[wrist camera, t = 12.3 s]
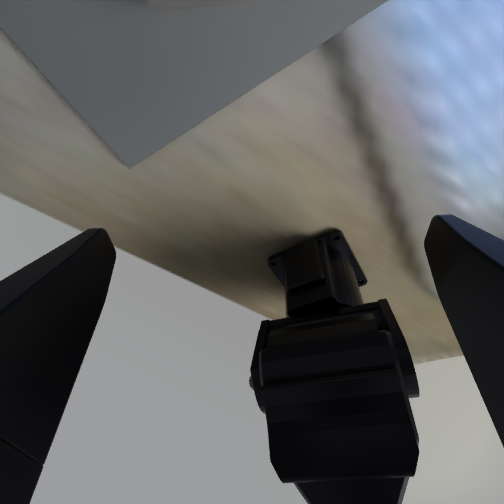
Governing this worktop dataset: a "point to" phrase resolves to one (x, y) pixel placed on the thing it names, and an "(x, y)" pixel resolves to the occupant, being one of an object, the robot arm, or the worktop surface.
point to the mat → (165, 58)
